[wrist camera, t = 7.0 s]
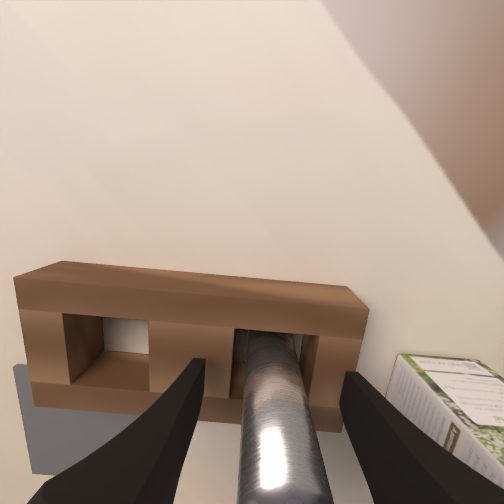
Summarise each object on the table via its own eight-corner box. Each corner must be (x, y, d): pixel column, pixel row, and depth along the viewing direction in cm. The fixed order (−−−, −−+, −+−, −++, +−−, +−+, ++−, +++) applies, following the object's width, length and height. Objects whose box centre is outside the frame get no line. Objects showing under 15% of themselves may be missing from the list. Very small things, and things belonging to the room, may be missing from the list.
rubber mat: (159, 479, 19) (157, 483, 19) (35, 469, 19) (32, 473, 19) (158, 376, 17) (156, 379, 16) (17, 364, 16) (12, 367, 16)
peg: (282, 362, 16) (315, 561, 7) (241, 351, 16) (224, 540, 7) (297, 325, 15) (352, 496, 7) (254, 313, 15) (253, 472, 7)
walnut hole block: (326, 390, 17) (341, 432, 14) (73, 369, 16) (34, 406, 14) (347, 286, 15) (369, 309, 12) (61, 260, 15) (13, 277, 12)
